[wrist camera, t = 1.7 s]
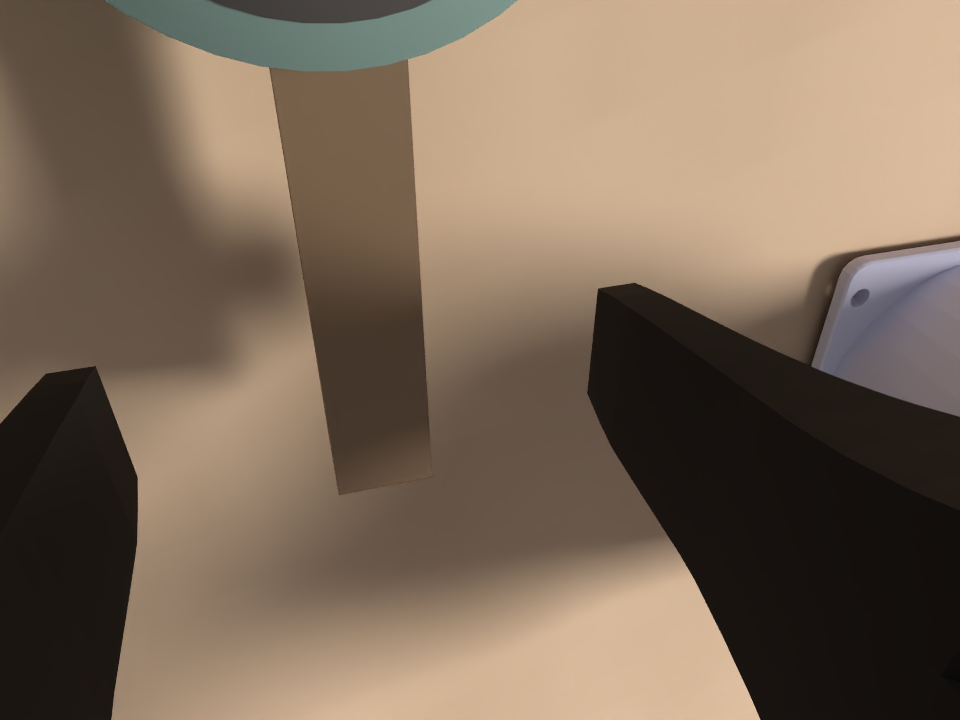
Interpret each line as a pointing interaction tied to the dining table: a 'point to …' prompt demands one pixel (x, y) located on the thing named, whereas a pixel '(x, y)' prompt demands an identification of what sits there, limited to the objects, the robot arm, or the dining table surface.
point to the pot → (347, 195)
